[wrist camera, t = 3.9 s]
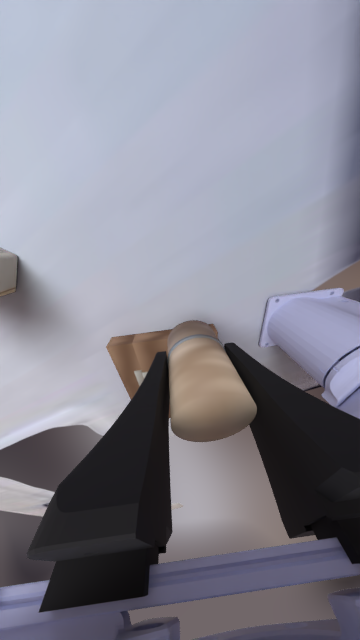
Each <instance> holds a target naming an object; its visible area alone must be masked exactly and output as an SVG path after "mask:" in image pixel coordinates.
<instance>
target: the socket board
mask: <svg viewBox="0 0 360 640" xmlns="http://www.w3.org/2000/svg"><path fill="white" fill-rule="evenodd" d="M208 325H209V326H210V327H211V328H212V329H213V331H214V333H215V335H216V336H217V334H218V332H217V330H216V328H215V326H214V325H213V324H208ZM172 330H173V329H171V330H164V331H156V332H149V333H141V334H134V335H127V336H119V337H112V338H111V340H110V341H109V343H108V345H107V346H106V348H107V350H108V352H109V354H110V356H111V358H112V360H113V363H114V365H115V367H116V369H117V371H118V373H119V375H120V377H121V380H122V382H123V384H124V386H125V388H126V390H127V392H128V394H129V396H130V399H132V398H133V396H134V395H135V393H136V392H137V390H138V388H139V387H140V385H141V383H142V382H143V380H144V378H145V376H146V374H147V372H148V370H149V368H150V366H151V364H152V362H153V360H154V358H155V355H156V353H157V352H162V351H166V354H167V358H168V346H167V340H168V336H169V334H170V332H171V331H172ZM169 418H171V415H170V404H169Z"/></svg>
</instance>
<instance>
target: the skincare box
mask: <svg viewBox="0 0 360 640" xmlns="http://www.w3.org/2000/svg"><path fill="white" fill-rule="evenodd" d="M17 259H18V258H17V256H16V255H15V254H12V253H10V252H8V251H6V250H4V249H1V248H0V297H1V296H4V295H7V294H10V293H13V292H15V291H16V279H17Z"/></svg>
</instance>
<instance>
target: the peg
mask: <svg viewBox="0 0 360 640" xmlns="http://www.w3.org/2000/svg"><path fill="white" fill-rule="evenodd" d="M167 346H168V358H167V363H168V369H169V392H170V415H171V429H172V431H173V433H174V434H175V435H176V436H178V437H179V438H181V439H184V440H187V441H193V442H208V441H215V440H219V439H223V438H226V437H229V436H231V435H234V434H235V433H237V432H239V431H241V430H242V429H244V428H245V427H247V426H248V425H249V424H250V423H251V422H252V421H253V419H254V418H255V416H256V413H257V406H256V404H255V402H254V400H253V399H252V397H251V395H250V393H249V392H248V390H247V388H246V387H245V385H244V383H243V381H242V380H241V378H240V376H239V374H238V373H237V371H236V369H235V367H234V366H233V364H232V362H231V361H230V359H229V357H228V355H227V354H226V351H225V349H224V347H223V345H222V344H221V342H220V341H219V340H218V338H217V336H216V335H215V333H214V331H213V329H212V328H211V327H210V326H209V325H208V324H206V323H204V322H201V321H194V320H193V321H186V322H183V323H181V324H179V325H177V326H176V327H175V328H174V329H173V330H172V331H171V332H170V334H169V336H168V340H167Z"/></svg>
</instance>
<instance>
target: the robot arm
mask: <svg viewBox="0 0 360 640" xmlns="http://www.w3.org/2000/svg"><path fill="white" fill-rule="evenodd" d="M343 291H344V290H343V289H342V288H334V289H327V290H319V291H311V292H304V293H296V294H289V295H281V296H274V297H270V298H269V299H268V302H267V307H266V312H265V317H264V322H263V327H262V332H261V337H260V342H259V345H260V346H261V347H268V346H276V345H278V346H279V347H280V348H281V349H283V350H284V351H285V352H286V353H287V354H288V355H289V356H290V357H291V358H292V359H293V360H294V361H295V362H296V363H297V364H299V365H300V366H301V367H302V368H303V369H304V370H305V371H306V372H307V373H308V374H309V375H310V376H311V377H312V378H313V379H315V380H316V381H317V382H318V383H319V384H320V385H321V386H322V387H323V388H324V389H325V391H324V392H323V394H322V395H321V396H322V397H323V398H324V399H325V400H326V401H327V402H329V404H330V405H329V404H327V403H325V402H323V401H321V400H319V399H318V398H316V397H314V396H312V395H310V394H308V393H306V392H304V391H303V390H301V389H299V388H297V387H296V386H294V385H292V384H291V383H289V382H287V381H286V380H284V379H282V378H281V377H279V376H278V375H276V374H275V373H273V372H272V371H270V370H269V369H267V368H266V367H264V366H263V365H261V364H260V363H259V362H257V361H256V360H255V359H253V358H252V357H251V356H249V355H248V354H247V353H246V352H244V351H243V350H242V349H241V348H239V347H238V346H237V345H236V344H234V343H226V344H225V346H224V349H225V351H226V354H227V355H228V357H229V359H230V361H231V362H232V364H233V366H234V367H235V369H236V371H237V373H238V374H239V376H240V378H241V380H242V381H243V383H244V385H245V387H246V388H247V390H248V392H249V393H250V395H251V397H252V399H253V400H254V402H255V404H256V406H257V413H256V416H255V418H254V419H253V421H252V422H251V423H250V424H249V425H250V428H251V431H252V433H253V436H254V438H255V441H256V444H257V447H258V449H259V452H260V455H261V458H262V461H263V464H264V467H265V469H266V472H267V475H268V478H269V481H270V484H271V487H272V490H273V494H274V497H275V500H276V503H277V506H278V509H279V512H280V515H281V518H282V522H283V524H284V527H285V529H286V531H287V534H288V536H289V538H297V537H304V536H310V535H316V537H317V539H318V540H315V541H309V542H302V543H296V544H288V545H282V546H276V547H268V548H261V549H255V550H248V551H242V552H235V553H229V554H222V555H215V556H208V557H201V558H194V559H188V560H182V561H174V562H168V563H161V564H158V555H159V554H160V553H166V544H167V542H168V540H169V538H170V536H171V534H172V519H171V518H172V516H171V495H170V494H171V493H170V466H169V430H168V426H169V404H170V392H169V369H168V363H167V354H166V351H162V352H157V353H156V355H155V358H154V360H153V362H152V364H151V366H150V368H149V370H148V372H147V374H146V376H145V378H144V380H143V382H142V383H141V385H140V387H139V388H138V390H137V392H136V393H135V395H134V396H133V398H132V399H131V401H130V402H129V404H128V405H127V407H126V408H125V409H124V411H123V412H122V414H121V415H120V416H119V418H118V419H117V420H116V421H115V423H114V424H113V425H112V427H111V428H110V429H109V430H108V431H107V433H106V434H105V435H104V436H103V438H102V439H101V440H100V441H99V442H98V443H97V444H96V446H95V447H94V448H93V449H92V450H91V451H90V452H89V454H88V455H87V456H86V457H85V458H84V459H83V460H82V461H81V462H80V463H79V464H78V465H77V466H76V468H75V469H74V470H73V471H72V472H71V473H70V474H69V475H68V476H67V477H66V478H65V479H64V480H63V481H62V482H61V483H60V484H59V486H58V488H57V490H56V492H55V494H54V496H53V497H52V499H51V501H50V503H49V505H48V507H47V510H46V512H45V514H44V516H43V518H42V521H41V523H40V525H39V527H38V529H37V532H36V534H35V536H34V538H33V541H32V543H31V545H30V547H29V549H28V552H27V557H28V558H29V559H33V560H44V561H56V564H55V567H54V569H53V572H52V575H51V578H50V580H47V581H40V582H34V583H27V584H20V585H14V586H7V587H0V640H180V621H179V619H178V617H162V618H152V619H148V620H144V621H141V622H138V623H136V624H134V625H131V622H130V616H129V613H128V610H135V609H142V608H148V607H155V606H161V605H168V604H174V603H181V602H187V601H194V600H200V599H207V598H213V597H219V596H226V595H233V594H239V593H246V592H252V591H258V590H265V589H271V588H278V587H285V586H291V585H297V584H304V583H310V582H317V581H324V580H330V579H337V578H343V577H350V576H356V575H360V302H357V301H354V300H351V299H348V298H345V297H341V296H342V294H343ZM276 299H277V301H276ZM328 600H329V603H330V605H331V607H332V609H333V612H334V614H335V616H336V618H337V619H327V620H316V621H304V622H292V623H281V624H272V625H263V626H255V627H248V628H242V629H237V630H232V631H226V632H222V633H218V634H213V635H209V636H205V637H200V638H197V639H192V640H360V588H351V589H344V590H340V591H337V592H333V593H330V594H328Z"/></svg>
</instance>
